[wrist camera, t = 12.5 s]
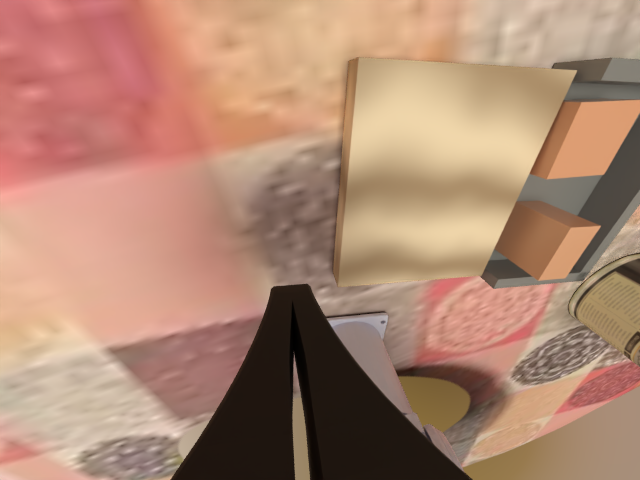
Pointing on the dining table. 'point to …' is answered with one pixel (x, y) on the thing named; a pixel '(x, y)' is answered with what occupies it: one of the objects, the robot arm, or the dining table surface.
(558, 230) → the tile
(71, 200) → the dining table surface
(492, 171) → the board
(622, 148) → the tray
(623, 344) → the coffee can
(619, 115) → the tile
